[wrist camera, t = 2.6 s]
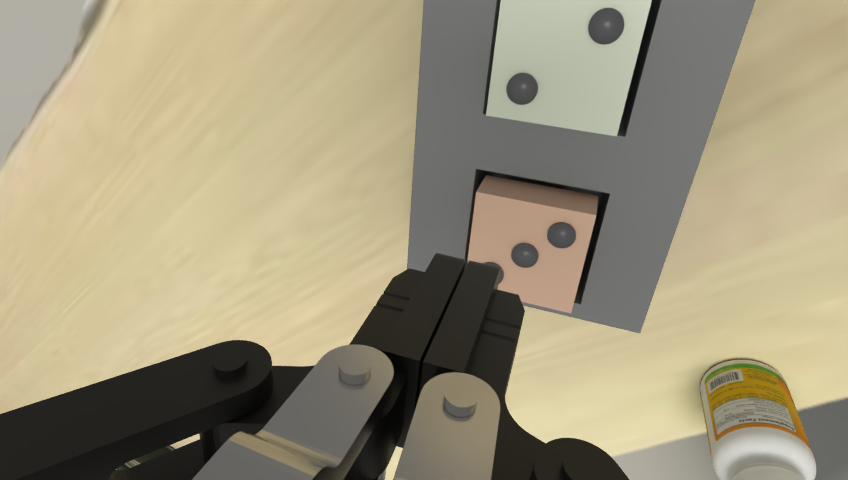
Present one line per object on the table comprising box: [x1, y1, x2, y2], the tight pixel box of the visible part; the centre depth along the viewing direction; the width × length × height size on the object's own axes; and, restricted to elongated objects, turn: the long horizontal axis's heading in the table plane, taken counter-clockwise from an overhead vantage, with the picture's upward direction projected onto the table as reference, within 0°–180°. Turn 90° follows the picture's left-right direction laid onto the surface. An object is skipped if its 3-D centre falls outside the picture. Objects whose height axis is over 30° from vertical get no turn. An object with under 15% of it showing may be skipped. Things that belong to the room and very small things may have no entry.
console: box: [407, 0, 755, 333], centre depth 28 cm, size 14×29×7 cm, turn 176°
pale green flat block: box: [486, 0, 652, 136], centre depth 25 cm, size 6×6×4 cm
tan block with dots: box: [468, 175, 598, 313], centre depth 30 cm, size 6×6×4 cm
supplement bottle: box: [700, 360, 816, 480], centre depth 34 cm, size 5×5×10 cm
